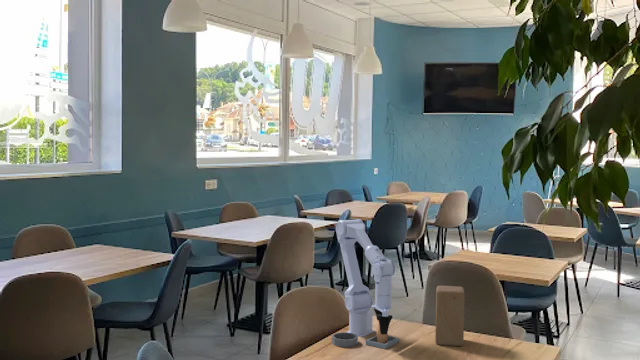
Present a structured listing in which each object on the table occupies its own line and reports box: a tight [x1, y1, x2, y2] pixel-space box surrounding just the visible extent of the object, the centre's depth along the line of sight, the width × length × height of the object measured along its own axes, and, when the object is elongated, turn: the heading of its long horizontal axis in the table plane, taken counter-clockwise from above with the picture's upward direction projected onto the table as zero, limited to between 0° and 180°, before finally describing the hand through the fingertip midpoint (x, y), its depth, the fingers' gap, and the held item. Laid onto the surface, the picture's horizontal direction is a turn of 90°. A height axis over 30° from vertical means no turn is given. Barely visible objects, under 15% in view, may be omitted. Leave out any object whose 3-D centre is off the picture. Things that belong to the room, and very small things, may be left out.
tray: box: [365, 335, 400, 350], centre depth 222 cm, size 10×8×2 cm
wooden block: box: [434, 285, 465, 347], centre depth 226 cm, size 10×10×20 cm
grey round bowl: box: [331, 331, 359, 348], centre depth 222 cm, size 9×9×3 cm
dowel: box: [376, 319, 389, 344], centre depth 222 cm, size 4×4×8 cm
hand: (382, 331), depth 222 cm, fingers open, 7 cm apart
